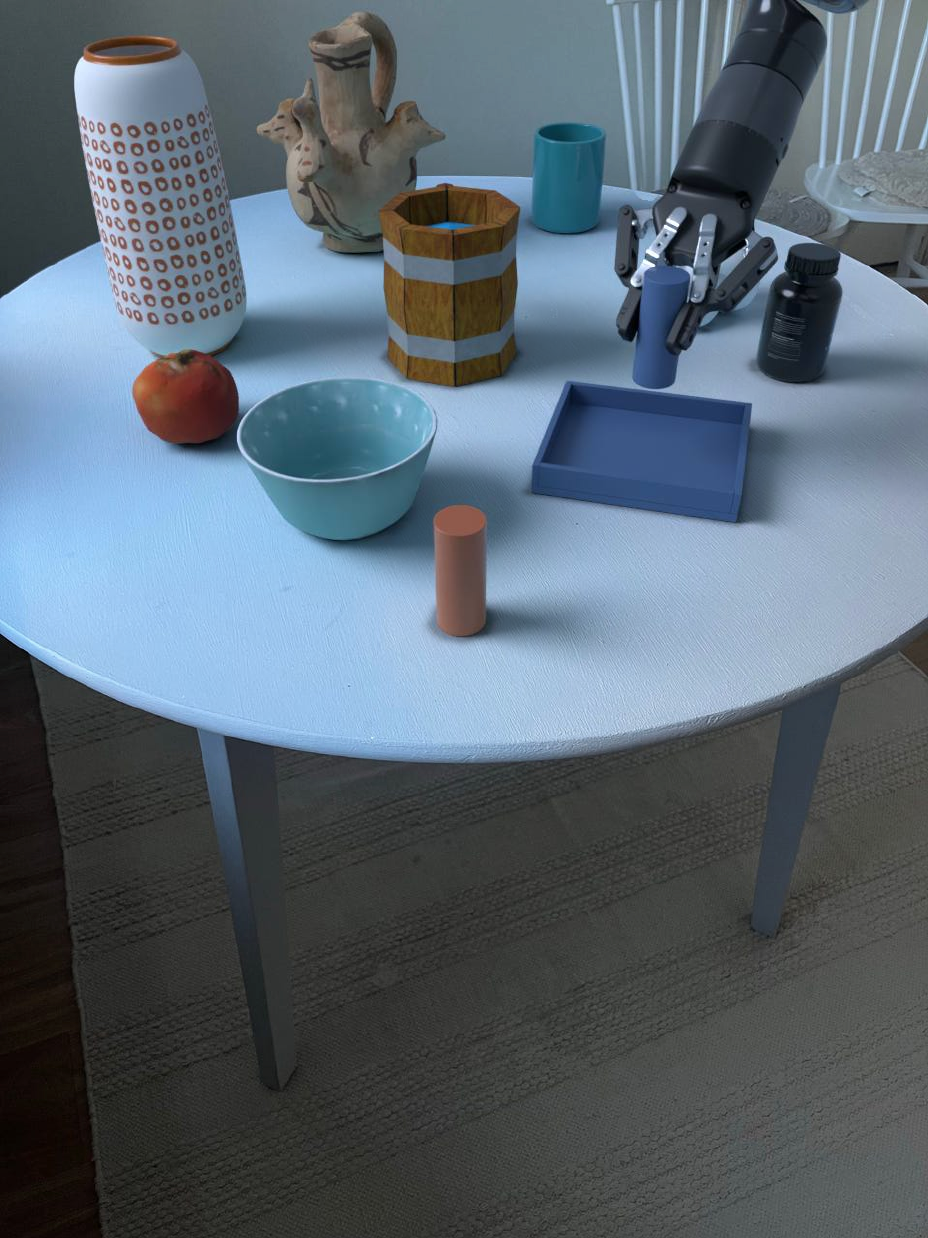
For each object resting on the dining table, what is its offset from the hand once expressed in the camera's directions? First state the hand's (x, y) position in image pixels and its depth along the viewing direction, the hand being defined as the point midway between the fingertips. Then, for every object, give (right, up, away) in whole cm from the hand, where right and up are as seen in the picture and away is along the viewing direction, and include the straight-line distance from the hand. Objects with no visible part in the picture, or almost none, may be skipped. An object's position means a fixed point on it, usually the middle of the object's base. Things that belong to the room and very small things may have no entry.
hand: (648, 343), depth 80 cm
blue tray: (+1, -8, +9) cm, 12 cm away
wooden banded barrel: (-16, +7, +27) cm, 32 cm away
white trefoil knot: (+10, +12, +31) cm, 35 cm away
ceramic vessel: (-29, +25, +47) cm, 61 cm away
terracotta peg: (-15, -22, -7) cm, 28 cm away
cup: (-1, +31, +54) cm, 62 cm away
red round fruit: (-40, -5, +13) cm, 42 cm away
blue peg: (+1, -2, +4) cm, 4 cm away
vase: (-44, +7, +27) cm, 52 cm away
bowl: (-25, -13, +4) cm, 28 cm away
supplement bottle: (+18, +3, +22) cm, 29 cm away
